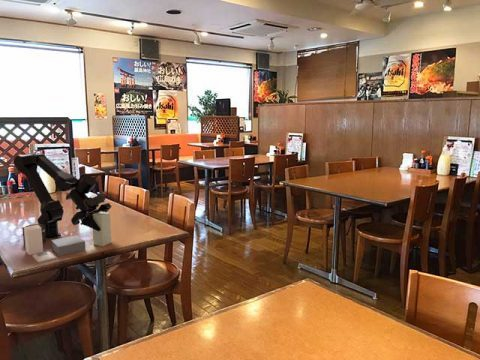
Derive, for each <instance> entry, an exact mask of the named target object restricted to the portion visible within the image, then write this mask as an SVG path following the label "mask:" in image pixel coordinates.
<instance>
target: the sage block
mask: <svg viewBox="0 0 480 360" xmlns="http://www.w3.org/2000/svg"><path fill="white" fill-rule="evenodd" d="M93 219H94V221H95V222H96V223H97V225H98V226H99V228H100V229H101V230H100V231H97V230H94V229H92V240H93V241H92V242H93V243H92V244H93V246H100V247H105V246H107V245H108V244H112V228H111V212H98V213H95V214H93Z"/></svg>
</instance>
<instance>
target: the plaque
mask: <svg viewBox="0 0 480 360" xmlns="http://www.w3.org/2000/svg"><path fill="white" fill-rule="evenodd" d="M31 256H32V258H33V259H34V260H35V261H36V262H37V263H38V264H39V263H43V262H47V261H50V260H51V261H52V260H56V256H55V255H54V254H53V253H52V252H50V251H43V252H42V253H37V254H32V255H31Z"/></svg>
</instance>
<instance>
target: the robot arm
mask: <svg viewBox="0 0 480 360" xmlns="http://www.w3.org/2000/svg"><path fill="white" fill-rule="evenodd" d="M13 165H14V167H15V168H16V169H17V171H18V172H19V173H21V174H22V175H24V176H25V178H26V179H27V181H28V183H29V184H30V186H31V189H32V190H33V193H34V195H36V198H37V199H38V201H39V203H40V208H39V211H40V215H39V217H38V218H37V222H38V223H37V224H43V225H44V229H45V239H51V238H56V237H60V236H62V234H61V233H60V232H59V224H58V222H59V221H63V217H64V212H65V211H64V207H63V206H62V204H61V202H60V200H59V199H57V200H55V199H53V197H52V196H51V194H50V193H49V190H48V189H47V188H48V187H46V185H45V182H44V181H43V180H42V176H41V175H40V173H39V172H38V167H39V168H40V169H41V170H42V171H43V172H45V173H46V174H47V175H48V176H49V177H50V178H52V179H53V181H54V185H55V186H56V187H57V188H58V190H60V192H67V191H69V192H67V193H65V194H66V197H65V200H66V201H68V200H71V201H72V202H73V203H74V205H75V206H76V207H75V209H76V210H77V212H75V213H74V214H73V216H72V218H71V219H70V220H71V221H70V222H71V223H72V225H73V226H77V225H80V226H84V227H88V228H91V229H92V230H93V229H94V230H97V231H100V230H101V229H100V228H99V226H98V225H97V223H96V222H95V221H94V219H93V214H95V213H98V212H108V211H110V210H111V208H112V205H111V203H110V202H106V201H105V200H106V196H105V195H104V193H103V192H101V193H99V194H96V196H93V197H91V196H90V197H89V196H88V195H87V194H89V193H90V192H91V191H92V190H93V188H94V187H95V186H96V185H97V180H96V178H94V177H93V176H92V175H88V174H87V173H85V172H84V173H81V175H80V177H79V178H77V177H76V176H74V175H73V174H71V173H69V172H65V171H64V170H62V169H60V168H59V166H58V165H56V163H54V162H53V161H52V160H50V158H48V157H47V156H46V154H44V153H43V152H42V153H41V152H40V153H33V154H32V153H30V154H29V153H28V154H19V155H16V156H15V157H14V159H13ZM78 210H79V211H78ZM108 213H109V212H108Z"/></svg>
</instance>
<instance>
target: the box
mask: <svg viewBox="0 0 480 360" xmlns="http://www.w3.org/2000/svg"><path fill="white" fill-rule="evenodd" d="M34 225H38V226H40V227H41V231H42V242H46V239H47V238H45V229H44V225H43V224H38V223H32V224H28V225H26V226H23V227H22V239H23V245H25V235H24V227H28V226H34Z"/></svg>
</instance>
